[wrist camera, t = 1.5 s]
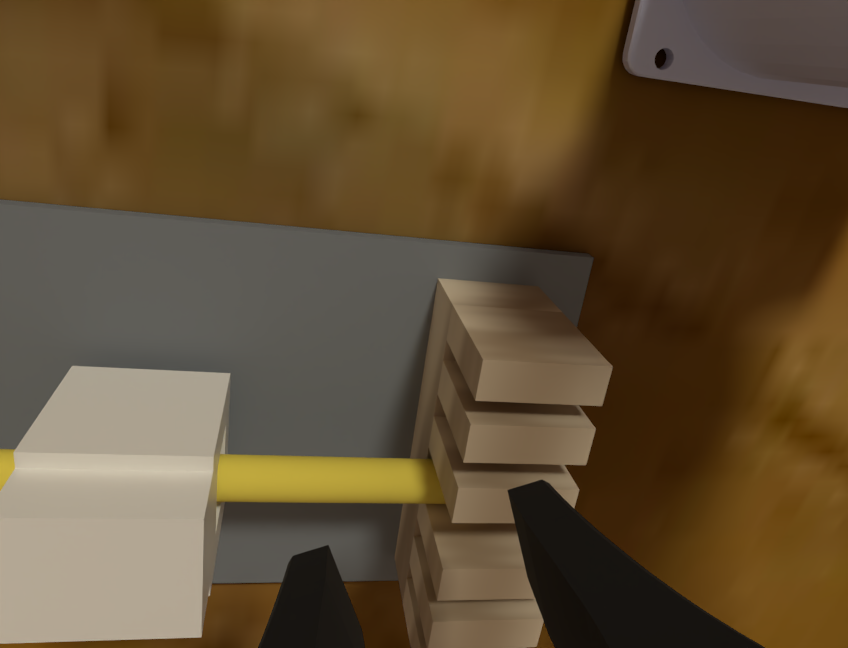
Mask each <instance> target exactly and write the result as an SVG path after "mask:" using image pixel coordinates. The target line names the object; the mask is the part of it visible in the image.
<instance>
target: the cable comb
mask: <svg viewBox="0 0 848 648" xmlns="http://www.w3.org/2000/svg"><path fill="white" fill-rule="evenodd" d="M612 368H613V366H612V365H611V364H610V363H609V362H608V361H607V360H606V359H605V358H604V357H603V356H602V354H601V353H600V352H599V351H598V350H597V349H596V348H595V347H594V346H593V345H592V344H591V343H590V342H589V340H588V339H587V338H586V337H585V336H584V335H583V334H582V333H581V332H580V331H579V330H578V329H577V328H576V326H575V325H574V324H573V323H572V322H571V321H570V320H569V319H568V318H567V317H566V316H565V315H564V314H563V312H562V311H561V310H560V309H559V308H558V307H557V306H556V305H555V304H554V303H553V302H552V301H551V300H550V298H549V297H548V296H547V295H546V294H545V293H544V292H543V291H542V290H541V289H540V288H539V287H538V286H529V285H516V284H504V283H491V282H479V281H466V280H454V279H441V278H438V281H437V288H436V294H435V301H434V307H433V314H432V320H431V326H430V333H429V339H428V346H427V352H426V358H425V365H424V371H423V378H422V384H421V391H420V397H419V403H418V410H417V416H416V423H415V429H414V436H413V442H412V448H411V455H410V459H432V460H433V463H434V467H435V470H436V473H437V476H438V480H439V483H440V486H441V489H442V493H443V496H444V499H445V502H446V504H403V506H402V513H401V519H400V526H399V532H398V538H397V545H396V551H395V563H396V569H397V575H398V580H399V586H400V591H401V597H402V603H403V608H404V614H405V619H406V625H407V631H408V636H409V642H410V647H411V648H526V647H537V644H538V640H539V636H540V633H541V629H542V625H543V622H544V621H543V618H542V615H541V613H540V610H539V607H538V605H537V602H536V599H535V597H534V594H533V591H532V589H531V586H530V583H529V580H528V578H527V573H526V569H525V565H524V560H523V556H522V552H521V547H520V543H519V539H518V534H517V530H516V526H515V521H514V517H513V513H512V508H511V504H510V500H509V495H508V491H507V490H509V489H512V488H516V487H519V486H522V485H525V484H529V483H532V482H535V481H538V480H544V481H546V482H548V483H550V485H551V486H552V487H553V488H554V489H555V490H556V491H557V492H558V493H559V494H560V495H561V496H562V497H563V498H564V499H565V500H566V501H567V502H568V503H569V504H570V505H571V506H572V507H573V508H575V504H576V500H577V497H578V493H579V488H578V487H577V485H576V483H575V482H574V480H573V478H572V477H571V475H570V473H569V472H568V470H567V468H566V467H565V465H586V464H587V460H588V456H589V453H590V449H591V445H592V442H593V438H594V434H595V431H596V428H595V427H594V425H593V424H592V423H591V421H590V420H589V419H588V417H587V416H586V415H585V413H584V412H583V411H582V409H581V408H580V407H579V405H587V406H602V405H603V401H604V398H605V394H606V390H607V387H608V383H609V379H610V376H611V372H612Z"/></svg>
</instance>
